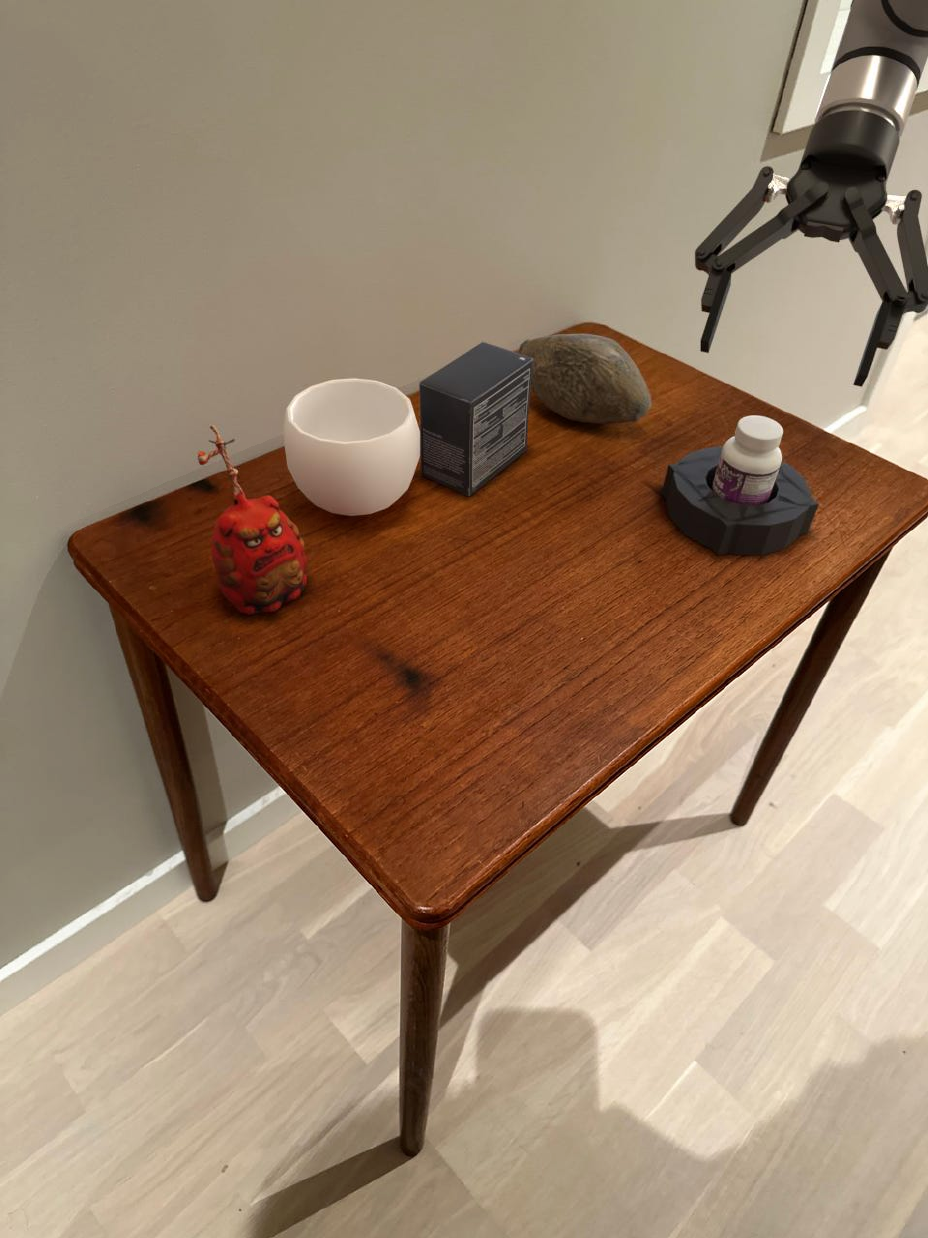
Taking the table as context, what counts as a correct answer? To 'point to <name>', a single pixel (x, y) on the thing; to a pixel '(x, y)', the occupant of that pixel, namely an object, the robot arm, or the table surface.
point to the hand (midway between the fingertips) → (780, 363)
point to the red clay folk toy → (255, 548)
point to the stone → (587, 378)
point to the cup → (351, 445)
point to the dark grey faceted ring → (736, 508)
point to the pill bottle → (749, 462)
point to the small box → (474, 417)
